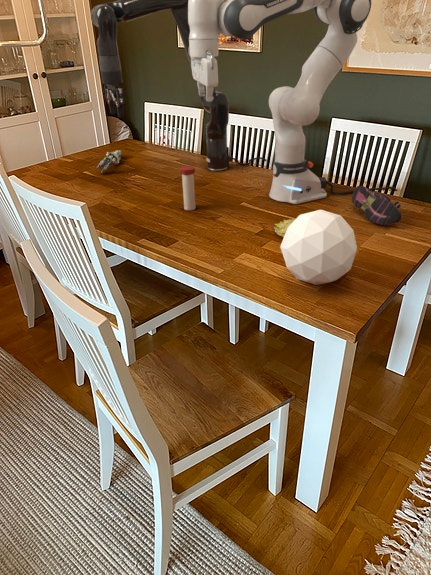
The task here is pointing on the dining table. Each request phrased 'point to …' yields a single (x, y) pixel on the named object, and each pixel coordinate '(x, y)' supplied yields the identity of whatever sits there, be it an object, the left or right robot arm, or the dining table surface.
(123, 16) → the left robot arm
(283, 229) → the decorative object
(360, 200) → the athletic shoe
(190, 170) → the lid
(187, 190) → the beige cylinder
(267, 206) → the dining table surface
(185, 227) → the dining table surface
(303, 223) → the sphere
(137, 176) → the dining table surface
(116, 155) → the figurine
